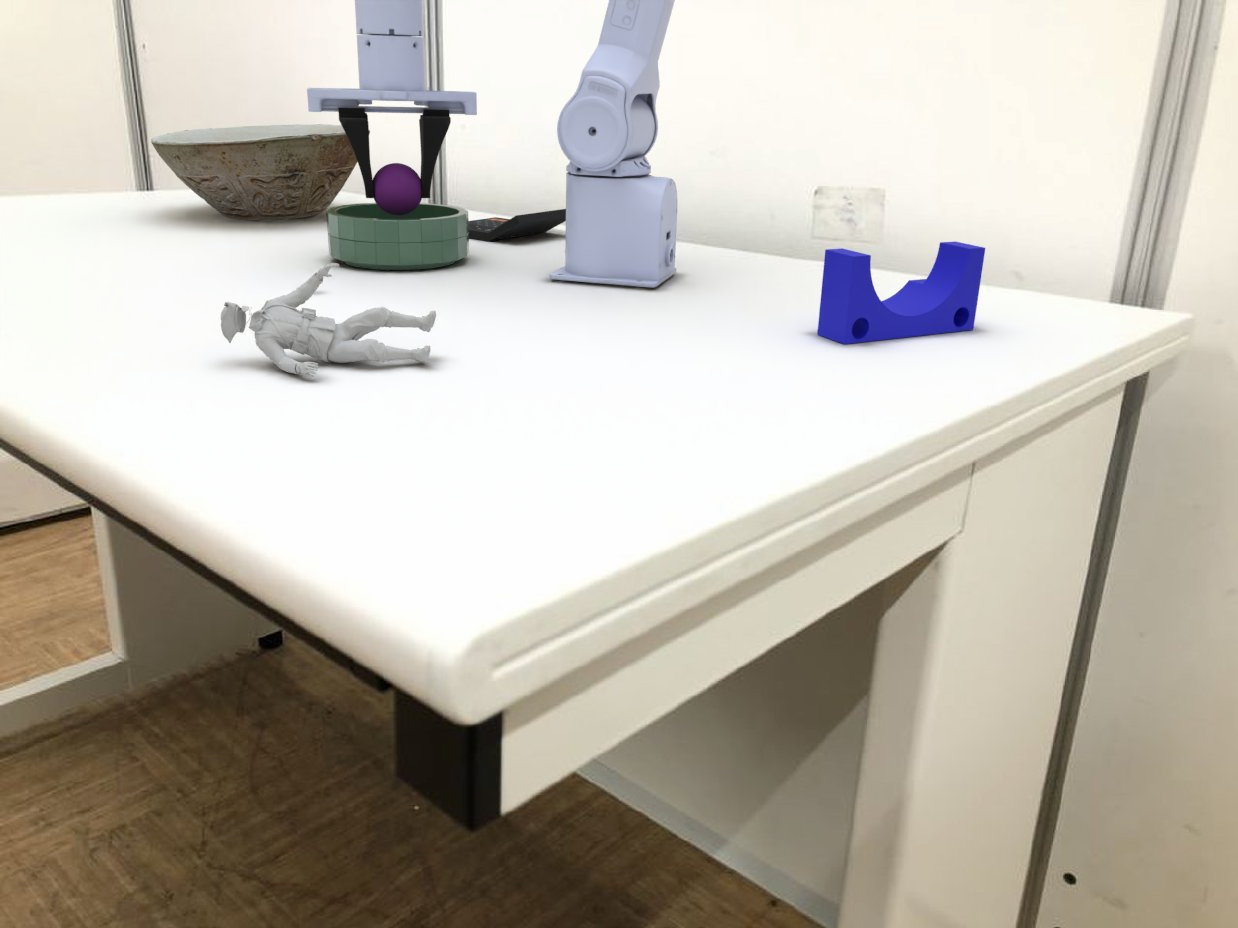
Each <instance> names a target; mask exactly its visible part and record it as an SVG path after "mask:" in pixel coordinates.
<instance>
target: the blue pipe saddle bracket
mask: <svg viewBox="0 0 1238 928" xmlns="http://www.w3.org/2000/svg"><path fill="white" fill-rule="evenodd" d="M938 245H939V246H938V250H937V254H936V258H935V261H934V264H933V266H932V268H931V270H930V272H929V274H928V276H927V277H926V278H923V279H922V278H921V279H910V280H908V281H907V282H906V283H905V284H904V286H902V288H900V289H899V290H898V291H897V292H896V293H894V294H893V295H891V296H890V297H888V298H886V299H884V300H881V299H880V297H879V295H878V294H877V291H876V288H875V286H874V283H873V282H874V281H873V278H872V270H871V269H872V268H871V259H872V255H871V254H868V253H863V252H859V251H855V250H852V249H846V248H844V247H843V248H828V249H825V250H824V260H823V270H822V281H821V294H820V300H819V301H820V302H819V311H818V323H817V332H816V333H817V334H816V335H817V336H820V337H822V338H826V339H828V340H831V341H834V342H837V343H840V344H842V345H850V344H858V343H866V342H867V343H868V342H877V341H885V340H893V339H895V340H896V339H903V338H913V337H922V336H930V335H941V334H947V333H948V334H949V333H957V332H965V331H974V329H975V328H974V327H975V321H976V315H977V308H978V301H979V294H980V287H981V282H982V281H981V280H982V274H983V269H984V267H983V266H984V260H985V253H986V247H984V246H978V245H975V244H969V243H964V242H960V241H942V242H939V244H938Z"/></svg>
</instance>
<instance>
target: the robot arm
mask: <svg viewBox="0 0 1238 928" xmlns="http://www.w3.org/2000/svg"><path fill="white" fill-rule="evenodd" d="M675 1H676V0H608V3H607V7H606V10H605V14H604V19H603V23H602V27H601V31H600V34H599V40H598V43H597V45H596V48H595V49H594V51H593V53H592V54H591V56H590V57H589V59H588V60H587V62H586V63H585V65H584V67H583V69H582V70H581V75H580V79H579V82H578V85H577V88H576V90H575V92H574V93H573V95H572V96H571V97H570V98H569V99H568V101H566V103H565V104H564V106H563V107H562V109H561V111H560V114H559V116H558V119H557V126H556V134H557V140H558V144H559V147H560V149H561V151H562V153H563V155H564V156H565V157H566V158H567V160H569V163H568V164H566V166H565V171H566V173H565V209H566V221H565V251H564V252H565V254H564V256H565V260H564V261H565V262H564V266H562V267H560V268H558V269H557V270H555V271H552V272H551V273H549V275H548V276H549V279H550V280H555V281H568V282H579V283H592V284H601V285H602V284H603V285H614V286H627V287H637V288H638V287H640V288H649V289H650V288H656V287H658V286H660V285H661V284H662V283H664V282H665V281H666V280H668V279H670V278H671V277H672V276H673V275H675V274H676V273H677V268H676V249H677V246H676V245H677V228H678V227H677V226H678V225H677V224H678V190H677V185H676V184H677V183H676V182H675V180H674V179H673V178H672V177H667V176H666V177H665V176H664V177H663V176H654V175H652V174H651V172H652V166H651V164H650V163H649V160H648V159H647V155H648V153H650V151H651V150H652V149H653V148H654V145H655V143H656V142H657V141H656V140H657V137H658V133H659V119H658V115H657V105H656V104H657V97H658V94H659V90H660V87H661V84H660V83H661V82H660V72H659V71H660V70H659V59H660V56H661V52H662V49H663V45H664V41H665V39H666V34H667V32H668V31H667V30H668V26H669V23H670V19H671V16H672V12H673V9H674V4H675ZM423 3H424V2H423V0H354V12H355V14H354V15H355V33H356V46H357V47H356V48H357V51H356V52H357V65H358V69H357V70H358V84H359V85H358V86H359V87H358V88H344V87H343V88H342V87H331V88H330V87H307V88H306V94H307V109H308V112H309V113H321V112H333V113H334V112H335V113H336V112H337V113H338V121H339V123H340V125H342V127H343V129H344V131H345V133H346V135H347V137H348V139H349V142H350V144H351V146H352V149H353V151H354V154H355V156H356V159H357V161H358V162H357V164H358V167H359V170H360V173H361V178H362V181H363V185H364V193H365V198H366V199H374V186H373V172H372V165H371V164H372V163H371V153H370V152H371V150H370V134H369V130H370V129H369V126H370V125H369V117H368V116H369V115H368V113H378V114H379V113H380V114H381V113H382V114H383V113H384V114H385V113H386V114H387V113H388V114H420V115H419V119H418V123H419V124H418V126H419V141H420V143H419V144H420V176H419V177H420V179H421V182H422V199H430V198H431V189H432V183H433V182H432V180H433V177H434V176H433V175H434V171H435V168H436V163H437V160H438V157H439V153H440V152H441V148H442V145H443V144H444V143H443V142H444V140H445V138H446V135H447V133H448V131H449V128H450V125H451V121H452V120H451V119H452V118H451V117H450V115H465V116H477V115H478V108H477V107H478V100H477V92H476V91H461V90H459V91H456V90H454V91H453V90H429V89H428V90H427V88H426V61H425V60H426V59H425V58H426V55H425V37H424V36H425V35H424V30H425V29H424V4H423ZM373 101H381V102H382V101H383V102H413V105H414V106H378V105H377V106H375V105H373ZM371 105H373V106H371ZM419 106H420V107H419Z"/></svg>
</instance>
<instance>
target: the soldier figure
mask: <svg viewBox="0 0 1238 928" xmlns="http://www.w3.org/2000/svg"><path fill="white" fill-rule="evenodd" d="M336 267H340V264H339V263H336V262H331V263H326V264H325V265H324V266H323V267H321V268H319V269H318V271H317V272H315V273H313V274H312V275H311V276H310V277H309V278H308V279H307V280H306V281H305V282H304V283H302V284H301V285H300V286H298V287H296V289H295V290H292V291H291V292H289V293H287V294H284V295H283V294H282V295H280V296H278V297H275V298H272V299H269V300H266V301H265V302H264V305H263V306H262V307H261V309H259V310H257V311H255V312H253V313H251V310H252V307H250V306H247V305H242V306H239V305H238V304H237V303H235V302H230V301H225V302H224V303H223V306H224V307H223V309H221V313H220V330H221V332H222V335H223V337H224V338H225V339H226V340H227V341H228V344H231V343H232V341H233V339H234V338H235V336H236V335H237V333H240V334H243V333H244V332H245V329H246V326H247V324H248V322H249V321H250V322H249V325H248V329H250V330H251V331H253V332H254V339H255V340H254V341H255V345H256V346H257V347H258V349H259V350H260V351H261V352H262V353H263V354H264V355H265V356H266V358H269V360H270V361H272V363H273V364H274V365H276V366H277V367H278V369H279V370H281V371H283V372H286V373H289V374H295V375H299V376H300V375H304V376H306V377H308V378H309V377H310V378H315V375H316V374H317V371H318V369H319V363H318V362H314V361H304V362H302V361H301V362H300V361H297V360H295V359H293V358H292V357H290V356H289V355H288V354H287V353H286V352H285V350H291V351H293V352H295V353H297V354H300V355H302V356H304V355H307V356H309V357H311V358H314V359H319V360H321V361H323V362H325V363H332V362H333V363H338V364H347V363H355V362H361V361H373V362H380V363H382V364H383V363H385V362H389V361H390V362H391V361H403V360H405V361H406V360H414V361H416V362H418V363H423V364H425V363H426V362H428V360H429V358H430V354H431V345H424V346H423V347H422V348H419V347H416V348H413V349H408V348H399V347H395V346H391V345H385V343H383V342H379V341H378V340H377V339H375V338H366V339H362V340H360V339H361V338H363V337H364V336H365V335H369V334H370V333H373V332H376V331H377V330H379V329H380V328H389V329H390V328H414V329H416V328H418V329H419V330H420V331H422V332H426V333H430V332H431V329H432V328H433V327H434V325H435V323H436V317H437V312H436V310H430V311H429V313H428V314H427V315H426V316H425V315H422V316H421V317H420V316H415V315H411V314H404V313H400V312H398V311H395V310H390V309H388V308H387V307H384V306H380V307H372V308H370V309H366V310H364V311H362V312H359V313H357V314H354V315H352V316H350V317H348V318H346V319H345V320H344V321H343V322H339V323H336V321H335V318H332V317H328V316H318V315H317V311H316V309H313V308H308V307H301V310H299V309H297V308H298V307H299V306H302V305H303V304H306V302H307V301H309V300H310V298H312V296H313V295H314V294H315V292H316V291H317V290H318V289H319V287H320V285H321V284H323V282H324V277H327V278H331V277H333V275H332V274H329V272H330V270H331V269H332V268H336ZM247 311H249V314H248V316H249V319H248V321H247V314H246V312H247Z"/></svg>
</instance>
